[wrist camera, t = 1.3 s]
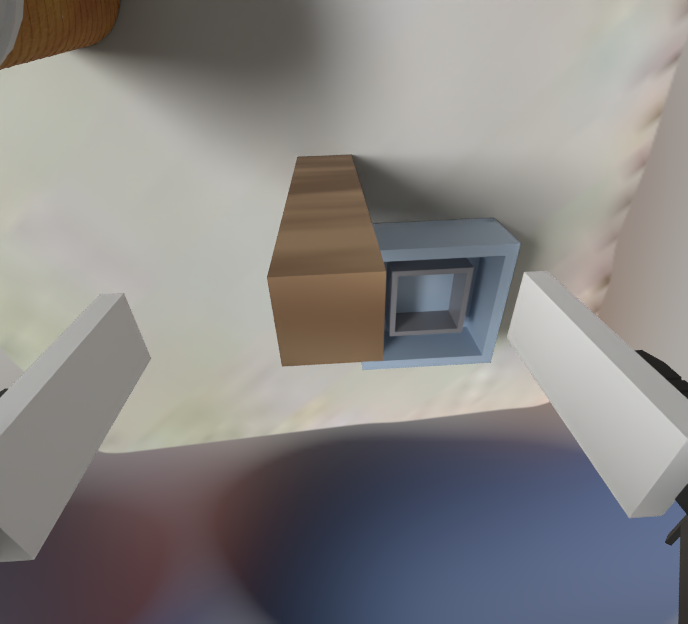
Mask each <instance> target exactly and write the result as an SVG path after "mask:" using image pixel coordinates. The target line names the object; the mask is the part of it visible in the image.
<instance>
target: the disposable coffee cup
mask: <svg viewBox="0 0 688 624" xmlns="http://www.w3.org/2000/svg"><path fill="white" fill-rule="evenodd" d="M119 5H120V0H0V70H1V69H4V68H9V67H12V66H15V65H19V64H23V63H28V62H30V61H34V60H37V59H42V58H45V57H50V56H53V55H57V54H60V53H64V52H68V51H71V50H75V49H78V48H82V47H88V46H91V45H94V44H97V43H98V42H99V41H101V40H102V39H103V38H105V37H106V36H107V35H108V34H109V32H110V31H111V30H112V28H113V26H114V24H115V21H116V19H117V16H118V11H119Z"/></svg>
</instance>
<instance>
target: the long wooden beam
mask: <svg viewBox="0 0 688 624" xmlns="http://www.w3.org/2000/svg"><path fill="white" fill-rule="evenodd" d="M267 280H268V286H269V292H270V298H271V304H272V310H273V316H274V322H275V327H276V333H277V339H278V345H279V351H280V357H281V363H282V366H298V365H315V364H333V363H351V362H369V361H383V349H384V322H385V294H386V269H385V265H384V262H383V259H382V255H381V252H380V248H379V245H378V242H377V238H376V235H375V232H374V228H373V225H372V222H371V218H370V215H369V212H368V208H367V205H366V202H365V198H364V195H363V191H362V188H361V185H360V181H359V178H358V175H357V171H356V168H355V165H354V161H353V158H352V155H329V156H307V157H297V161H296V165H295V169H294V173H293V177H292V180H291V184H290V188H289V192H288V196H287V200H286V204H285V208H284V212H283V216H282V220H281V224H280V228H279V232H278V236H277V240H276V244H275V248H274V252H273V256H272V260H271V264H270V268H269V272H268V276H267Z"/></svg>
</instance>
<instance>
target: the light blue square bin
mask: <svg viewBox="0 0 688 624" xmlns="http://www.w3.org/2000/svg"><path fill="white" fill-rule="evenodd" d="M372 225H373V228H374V232H375V235H376V238H377V242H378V245H379V248H380V252H381V255H382V259H383V262H384V265H385V269H386V294H385V322H384V349H383V361H369V362H361V363H362V370H371V369H388V368H406V367H423V366H441V365H458V364H476V363H491V359H492V355H493V351H494V347H495V343H496V339H497V335H498V331H499V328H500V324H501V320H502V316H503V312H504V308H505V304H506V300H507V296H508V292H509V288H510V284H511V280H512V277H513V273H514V269H515V265H516V261H517V257H518V253H519V249H520V245H521V243H520V242H519V241H518V240H517V239H516V238H515V237H514V236H513V235H512V234H510V233H509V232H508V231H507V230H506V229H505V228H504V227H503V226H502V225H501V224H500V223H499V222H498V221H497V220H495V219H494V218H480V219H460V220H439V221H419V222H398V223H377V224H372Z"/></svg>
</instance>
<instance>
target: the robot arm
mask: <svg viewBox="0 0 688 624" xmlns="http://www.w3.org/2000/svg"><path fill="white" fill-rule="evenodd" d="M507 339H508V340H509V342H510V343H511V345H512V346H513V348H514V349H515V351H516V352H517V354H518V355H519V357H520V358H521V360H522V361H523V362H524V364H525V365H526V367H527V368H528V370H529V371H530V373H531V374H532V376H533V377H534V379H535V380H536V382H537V383H538V385H539V386H540V388H541V389H542V390H543V392H544V393H545V395H546V396H547V398H548V399H549V401H550V402H551V404H552V405H553V407H554V408H555V410H556V411H557V412H558V414H559V415H560V417H561V418H562V420H563V421H564V422H565V424H566V426H567V427H568V429H569V430H570V432H571V433H572V435H573V436H574V438H575V439H576V441H577V442H578V443H579V445H580V446H581V448H582V449H583V451H584V452H585V454H586V455H587V456H588V458H589V460H590V461H591V462H592V464H593V466H594V467H595V468H596V470H597V471H598V473H599V474H600V476H601V477H602V479H603V480H604V482H605V483H606V485H607V486H608V488H609V489H610V490H611V492H612V493H613V495H614V496H615V498H616V499H617V501H618V502H619V504H620V505H621V507H622V508H623V510H624V511H625V512H626V514H627V516H628V517H629V518H637V517H652V516H663V515H664V513H665V512H666V511H667V510H668V509H669V507H670V506H671V505H672V504H673V503H674V501H675V500H676V501H677V502H678V504H679V505H680V506H681V508H682V509H683V510H684V511H685V512H686V516H685V517H684V518H683V519H682V520H681V521H680V522H679V524H677V526H676V527H675V528H674V529H673V530H672V531H671V532H670V533H669V534H668V536H667V539H666V541H665V543H667V544H669V545H672V544H673V543H674V542H675V541H676V540H677V539H678V538H679V537H680V578H679V580H680V581H679V622H678V624H688V383H687V382H686V381H685V380H681V376H679V375H678V374H677V373H676V372H675V371H673V370H672V369H671V368H670V367H669V366H668V365H667V364H666V363H664V362H663V361H661V360H659V359H657V358H655V357H654V356H652V355H650V354H648V353H646V352H644V351H643V350H633V349H632V348H631V347H630V346H629V345H628V344H627V343H626V342H624V341H623V340H622V339H621V338H620V337H619V336H618V335H617V334H616V333H615V332H613V331H612V330H611V329H610V328H609V327H608V326H607V325H606V324H605V323H604V322H603V321H601V320H600V319H599V318H598V317H597V316H596V315H595V314H594V313H593V312H592V311H590V310H589V309H588V308H587V307H586V306H585V305H584V304H583V303H582V302H581V301H580V300H578V299H577V298H576V297H575V296H574V295H573V294H572V293H571V292H570V291H569V290H567V289H566V288H565V287H564V286H563V285H562V284H561V283H560V282H559V281H558V280H557V279H555V278H554V277H553V276H552V275H551V274H550V273H549V272H548V271H532V272H524V274H523V278H522V282H521V286H520V289H519V293H518V297H517V301H516V305H515V308H514V312H513V316H512V320H511V324H510V327H509V331H508V335H507ZM150 359H151V357H150V355H149V352H148V350H147V347H146V345H145V343H144V340H143V338H142V335H141V333H140V331H139V328H138V326H137V324H136V321H135V319H134V316H133V314H132V312H131V309H130V307H129V304H128V302H127V300H126V297H125V295H124V293H119V294H100V295H99V296H98V297H97V298H96V299H95V300H94V301H93V302H92V303H91V304H90V305H89V306H88V307H87V308H86V309H85V310H84V311H83V312H82V313H81V315H80V316H79V317H78V318H77V319H76V320H75V321H74V322H73V323H72V324H71V325H70V326H69V327H68V328H67V329H66V330H65V331H64V332H63V333H62V334H61V335H60V336H59V337H58V338H57V339H56V340H55V341H54V342H53V344H52V345H51V346H50V347H49V348H48V349H47V350H46V351H45V352H44V353H43V354H42V355H41V356H40V357H39V358H38V359H37V360H36V361H35V362H34V363H33V364H32V365H31V366H30V367H29V368H28V369H27V370H26V371H25V373H24V374H23V375H22V376H21V377H20V378H19V379H18V380H17V381H16V382H15V383H14V384H13V385H12V386H11V387H10V388H9V389H4V390H2V391H1V392H0V562H7V561H20V560H21V561H22V560H34V559H35V557H36V555H37V554H38V552H39V550H40V549H41V547H42V545H43V543H44V542H45V540H46V538H47V536H48V535H49V533H50V531H51V530H52V528H53V526H54V525H55V523H56V521H57V519H58V517H59V516H60V514H61V512H62V511H63V509H64V507H65V506H66V504H67V502H68V500H69V499H70V497H71V495H72V494H73V492H74V490H75V488H76V486H77V485H78V483H79V481H80V480H81V478H82V476H83V475H84V473H85V471H86V469H87V468H88V466H89V464H90V462H91V461H92V459H93V457H94V455H95V454H96V452H97V451H98V449H99V447H100V445H101V444H102V442H103V440H104V438H105V437H106V435H107V433H108V432H109V430H110V428H111V426H112V425H113V423H114V421H115V420H116V418H117V416H118V414H119V413H120V411H121V409H122V407H123V406H124V404H125V402H126V401H127V399H128V397H129V395H130V394H131V392H132V390H133V389H134V387H135V385H136V383H137V382H138V380H139V378H140V376H141V375H142V373H143V371H144V370H145V368H146V366H147V364H148V363H149V361H150Z"/></svg>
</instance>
